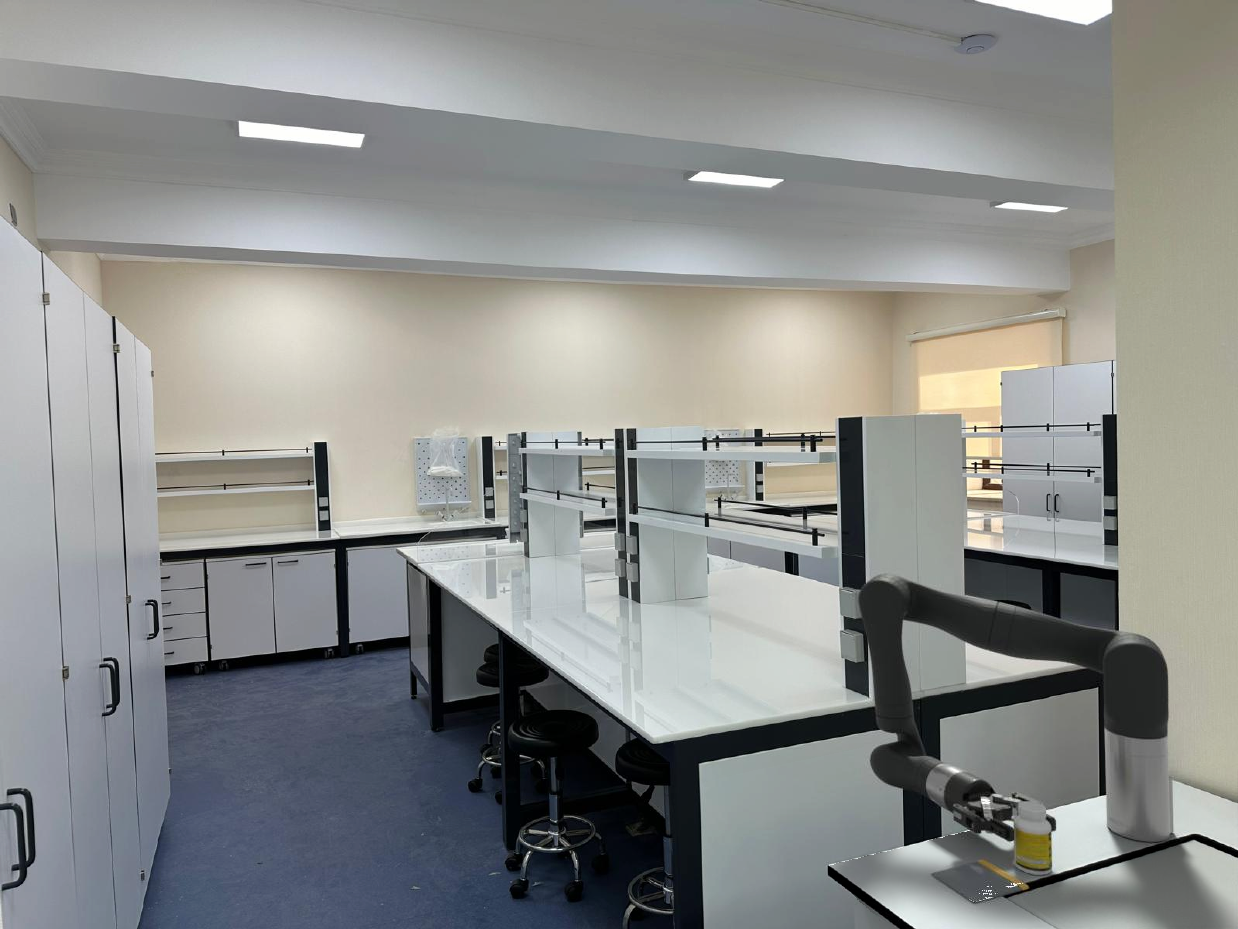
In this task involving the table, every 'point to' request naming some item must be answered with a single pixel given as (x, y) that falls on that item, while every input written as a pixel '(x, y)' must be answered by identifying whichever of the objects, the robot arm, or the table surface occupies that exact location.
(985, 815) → the robot arm
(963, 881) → the mat
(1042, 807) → the supplement bottle
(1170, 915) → the table surface
